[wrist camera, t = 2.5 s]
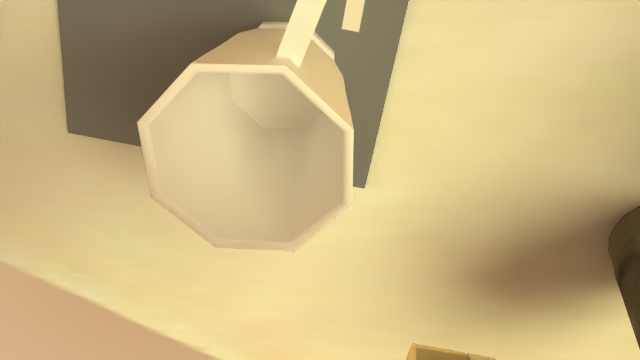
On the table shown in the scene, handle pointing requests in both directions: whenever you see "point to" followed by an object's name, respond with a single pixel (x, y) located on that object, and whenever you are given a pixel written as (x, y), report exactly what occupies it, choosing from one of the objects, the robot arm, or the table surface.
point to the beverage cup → (628, 264)
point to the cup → (255, 138)
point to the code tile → (200, 38)
